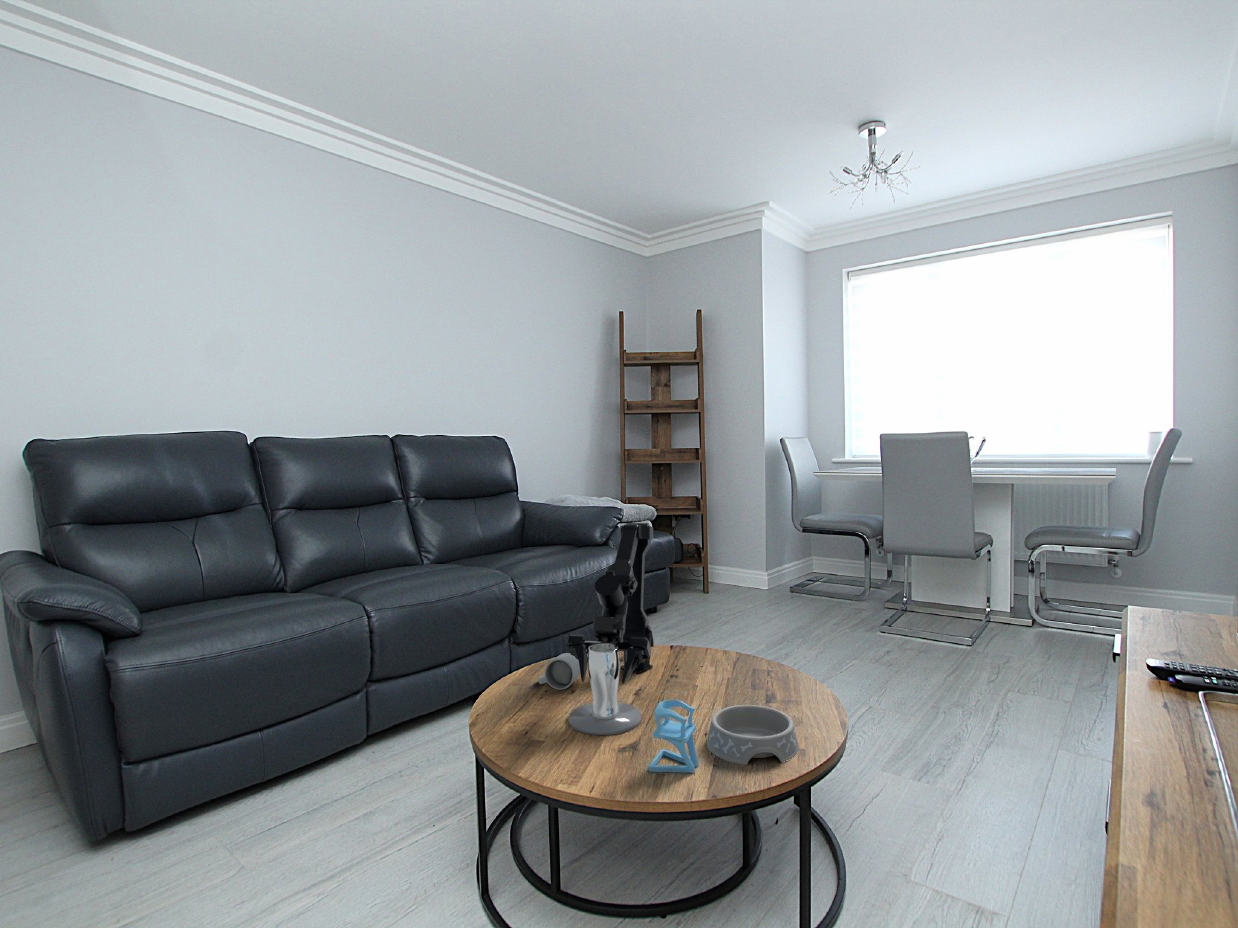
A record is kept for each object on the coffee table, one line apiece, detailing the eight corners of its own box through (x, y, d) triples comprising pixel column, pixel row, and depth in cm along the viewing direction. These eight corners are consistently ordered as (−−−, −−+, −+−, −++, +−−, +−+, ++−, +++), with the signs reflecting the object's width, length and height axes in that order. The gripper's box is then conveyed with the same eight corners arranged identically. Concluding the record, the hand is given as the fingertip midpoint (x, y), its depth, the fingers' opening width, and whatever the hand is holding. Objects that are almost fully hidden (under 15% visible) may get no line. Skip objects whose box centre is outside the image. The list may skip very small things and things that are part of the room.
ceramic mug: (582, 679, 177) (581, 649, 177) (574, 690, 169) (572, 659, 169) (543, 677, 180) (542, 648, 180) (533, 689, 172) (532, 658, 172)
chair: (690, 779, 124) (690, 714, 124) (647, 771, 127) (646, 707, 127) (702, 760, 131) (701, 698, 131) (661, 753, 134) (660, 693, 134)
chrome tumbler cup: (612, 722, 147) (609, 654, 146) (584, 717, 150) (581, 650, 149) (626, 710, 153) (624, 644, 152) (599, 705, 156) (596, 640, 156)
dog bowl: (812, 763, 130) (811, 735, 129) (716, 768, 128) (716, 740, 128) (783, 725, 147) (783, 701, 146) (699, 730, 145) (698, 705, 145)
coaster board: (553, 721, 151) (553, 717, 151) (604, 700, 163) (604, 696, 163) (606, 742, 140) (606, 737, 140) (656, 717, 152) (656, 713, 152)
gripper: (567, 599, 156) (553, 662, 146) (647, 601, 152) (639, 667, 142) (577, 624, 164) (565, 686, 154) (654, 627, 160) (646, 691, 150)
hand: (602, 682), depth 150 cm, fingers open, 9 cm apart
